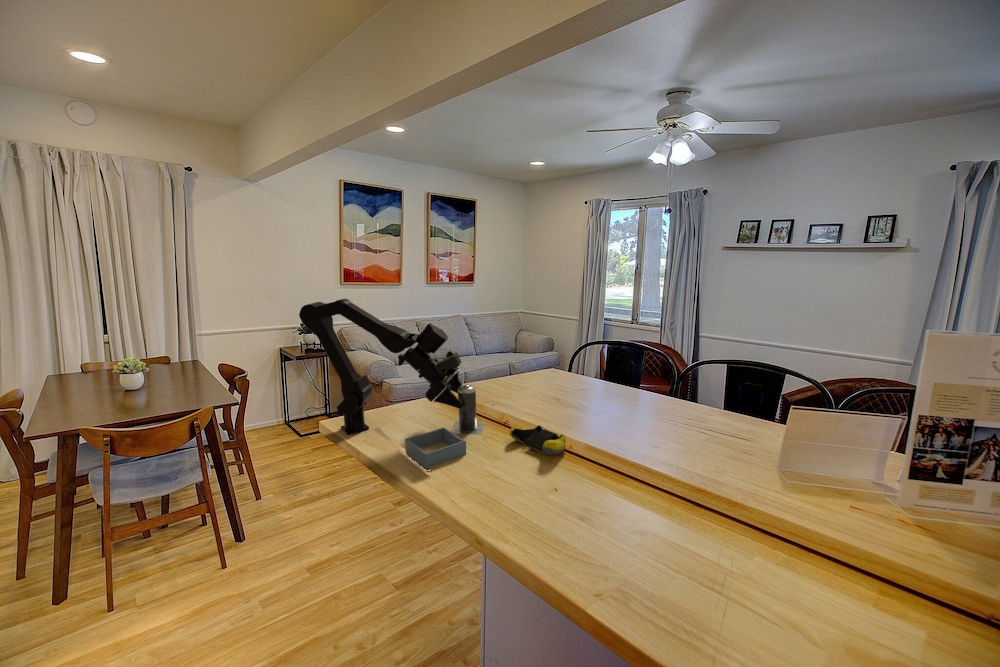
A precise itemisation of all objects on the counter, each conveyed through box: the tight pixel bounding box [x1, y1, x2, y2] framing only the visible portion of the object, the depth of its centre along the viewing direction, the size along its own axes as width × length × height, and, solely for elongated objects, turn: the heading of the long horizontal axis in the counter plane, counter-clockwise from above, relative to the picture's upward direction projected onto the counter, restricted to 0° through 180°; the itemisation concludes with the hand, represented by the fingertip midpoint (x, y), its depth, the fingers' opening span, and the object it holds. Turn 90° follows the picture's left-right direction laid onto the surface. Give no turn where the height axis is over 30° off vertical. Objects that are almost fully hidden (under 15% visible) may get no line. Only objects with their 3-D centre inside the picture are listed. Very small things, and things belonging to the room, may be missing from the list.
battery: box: [457, 384, 478, 431], centre depth 125 cm, size 5×5×13 cm
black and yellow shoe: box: [509, 424, 567, 456], centre depth 114 cm, size 15×6×10 cm
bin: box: [404, 427, 467, 470], centre depth 111 cm, size 11×11×4 cm
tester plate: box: [450, 420, 487, 435], centre depth 127 cm, size 9×9×1 cm
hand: (464, 401), depth 125 cm, fingers open, 9 cm apart
